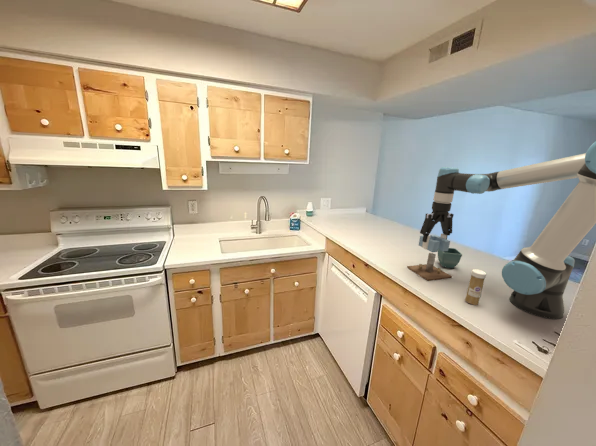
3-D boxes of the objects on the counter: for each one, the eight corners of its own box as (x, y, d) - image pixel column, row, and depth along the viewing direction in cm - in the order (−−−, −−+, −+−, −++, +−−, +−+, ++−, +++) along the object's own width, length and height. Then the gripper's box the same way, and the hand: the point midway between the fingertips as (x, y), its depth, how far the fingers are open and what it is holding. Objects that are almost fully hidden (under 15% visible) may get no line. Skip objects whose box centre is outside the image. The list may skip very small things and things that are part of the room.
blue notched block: (448, 251, 114) (450, 241, 112) (432, 252, 112) (434, 242, 110) (433, 244, 122) (435, 234, 121) (418, 245, 120) (420, 235, 119)
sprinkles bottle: (469, 305, 94) (477, 273, 91) (462, 298, 99) (469, 268, 95) (481, 305, 94) (489, 274, 91) (473, 298, 99) (480, 268, 95)
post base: (451, 278, 115) (456, 258, 113) (427, 281, 112) (431, 261, 109) (429, 265, 128) (433, 248, 126) (407, 267, 125) (410, 249, 122)
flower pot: (459, 270, 124) (462, 254, 121) (440, 268, 125) (443, 252, 123) (452, 263, 132) (455, 248, 130) (434, 261, 134) (437, 246, 131)
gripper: (454, 200, 117) (445, 243, 123) (416, 200, 111) (408, 246, 118) (468, 203, 110) (457, 249, 116) (428, 203, 104) (419, 252, 111)
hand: (433, 247), depth 117 cm, fingers closed on blue notched block, 9 cm apart
